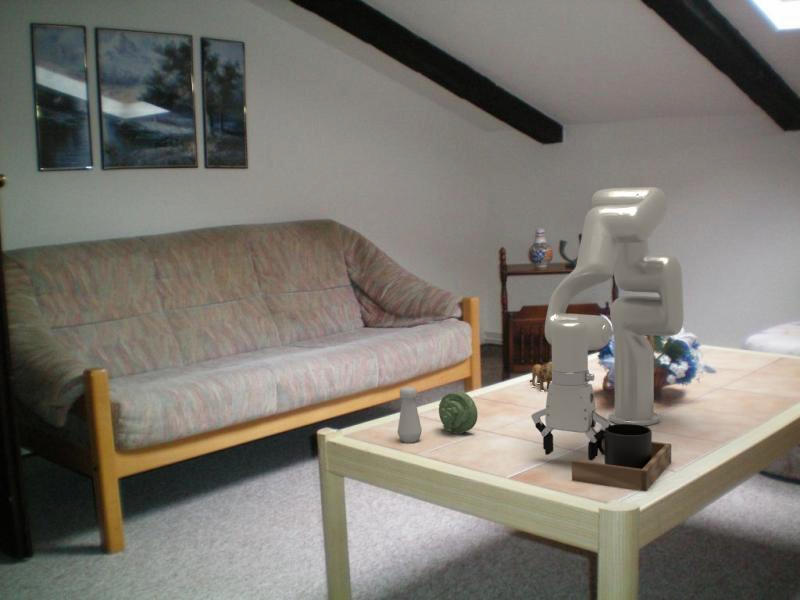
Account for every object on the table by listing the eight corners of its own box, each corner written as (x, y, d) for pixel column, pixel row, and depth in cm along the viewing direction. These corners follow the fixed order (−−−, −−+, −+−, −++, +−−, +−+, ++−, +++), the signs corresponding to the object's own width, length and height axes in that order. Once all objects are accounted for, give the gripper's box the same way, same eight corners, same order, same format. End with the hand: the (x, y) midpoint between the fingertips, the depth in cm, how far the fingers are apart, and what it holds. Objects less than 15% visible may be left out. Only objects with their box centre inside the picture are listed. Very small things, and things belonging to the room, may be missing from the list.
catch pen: (602, 453, 193) (602, 435, 193) (671, 461, 186) (671, 443, 185) (571, 480, 176) (571, 461, 176) (645, 491, 169) (645, 471, 168)
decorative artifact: (478, 434, 212) (477, 394, 211) (461, 441, 207) (459, 400, 206) (445, 427, 219) (444, 389, 217) (428, 434, 213) (427, 394, 212)
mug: (609, 459, 189) (609, 419, 188) (660, 470, 180) (660, 428, 179) (585, 470, 182) (585, 428, 181) (636, 482, 174) (636, 438, 173)
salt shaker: (394, 439, 210) (392, 386, 209) (415, 435, 212) (414, 383, 211) (404, 445, 205) (402, 391, 203) (426, 441, 207) (424, 388, 205)
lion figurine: (562, 392, 252) (562, 362, 251) (547, 394, 250) (546, 364, 249) (536, 382, 265) (536, 353, 264) (521, 384, 263) (520, 355, 262)
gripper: (615, 377, 183) (615, 456, 185) (538, 371, 192) (539, 446, 194) (604, 384, 177) (604, 466, 179) (525, 378, 186) (526, 455, 188)
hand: (570, 456), depth 186 cm, fingers open, 9 cm apart
